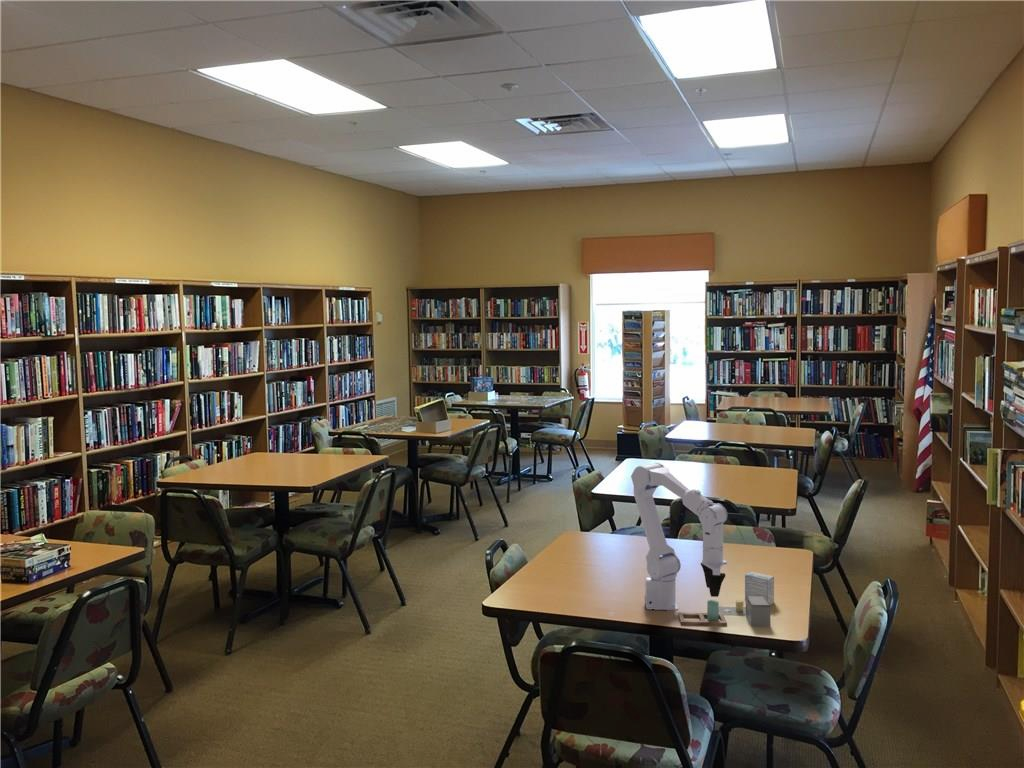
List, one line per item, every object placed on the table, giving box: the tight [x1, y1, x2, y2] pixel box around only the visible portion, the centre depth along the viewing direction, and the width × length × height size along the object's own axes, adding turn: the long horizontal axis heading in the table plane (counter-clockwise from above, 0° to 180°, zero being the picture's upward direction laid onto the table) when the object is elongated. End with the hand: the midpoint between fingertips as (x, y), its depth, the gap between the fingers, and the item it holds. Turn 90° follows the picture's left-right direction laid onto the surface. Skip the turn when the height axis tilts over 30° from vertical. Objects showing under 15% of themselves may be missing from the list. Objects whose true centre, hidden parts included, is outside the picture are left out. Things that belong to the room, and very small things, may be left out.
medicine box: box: [744, 571, 775, 605], centre depth 250 cm, size 8×4×9 cm, turn 48°
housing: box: [745, 596, 772, 628], centre depth 233 cm, size 8×5×6 cm
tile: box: [719, 599, 746, 617], centre depth 242 cm, size 9×7×3 cm
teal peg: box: [706, 599, 720, 621], centre depth 234 cm, size 3×3×6 cm
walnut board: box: [677, 611, 728, 627], centre depth 234 cm, size 13×8×1 cm, turn 84°
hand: (712, 591), depth 234 cm, fingers open, 7 cm apart
